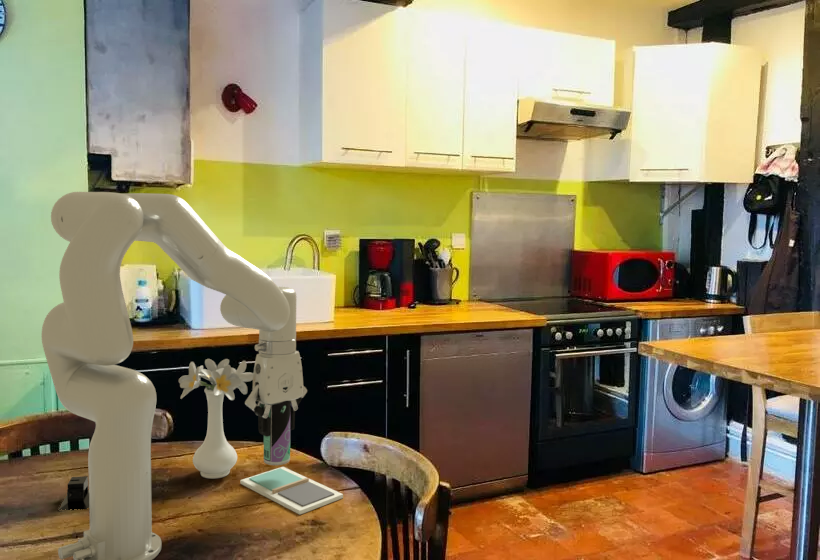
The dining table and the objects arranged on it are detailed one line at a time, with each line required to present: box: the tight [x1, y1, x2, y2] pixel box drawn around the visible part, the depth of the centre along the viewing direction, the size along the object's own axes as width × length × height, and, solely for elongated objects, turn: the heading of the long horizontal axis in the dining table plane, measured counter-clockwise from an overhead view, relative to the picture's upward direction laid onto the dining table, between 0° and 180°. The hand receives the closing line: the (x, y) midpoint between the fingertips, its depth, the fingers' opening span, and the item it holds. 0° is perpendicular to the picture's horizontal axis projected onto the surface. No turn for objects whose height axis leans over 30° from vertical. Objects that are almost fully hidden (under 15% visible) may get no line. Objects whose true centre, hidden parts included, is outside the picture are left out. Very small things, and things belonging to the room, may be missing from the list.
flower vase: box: [178, 358, 254, 480], centre depth 149 cm, size 13×18×25 cm
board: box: [240, 466, 344, 515], centre depth 142 cm, size 11×20×2 cm, turn 47°
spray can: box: [263, 385, 291, 466], centre depth 144 cm, size 6×6×20 cm
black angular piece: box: [58, 475, 89, 511], centre depth 135 cm, size 12×7×5 cm, turn 14°
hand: (276, 430), depth 145 cm, fingers closed on spray can, 5 cm apart
